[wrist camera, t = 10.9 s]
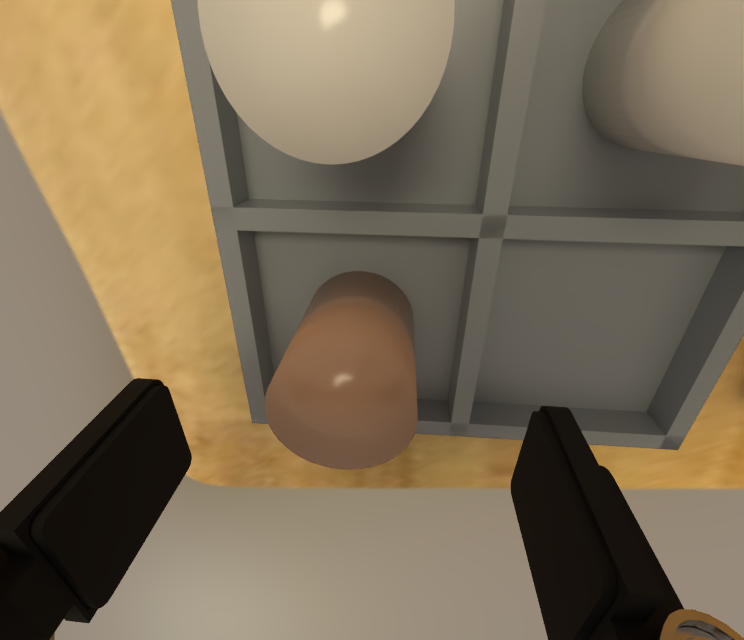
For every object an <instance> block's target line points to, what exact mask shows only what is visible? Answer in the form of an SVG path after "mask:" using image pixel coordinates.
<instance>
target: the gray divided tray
mask: <svg viewBox="0 0 744 640" xmlns="http://www.w3.org/2000/svg"><path fill="white" fill-rule="evenodd" d="M622 1H623V0H455V12H454V29H453V36H452V43H451V49H450V53H449V57H448V61H447V64H446V68H445V71H444V73H443V76H442V79H441V81H440V84H439V86H438V88H437V90H436V92H435V94H434V96H433V98H432V100H431V102H430V104H429V105H428V107H427V108H426V110H425V111H424V113H423V114H422V116H421V117H420V118H419V120H418V121H417V122H416V123H415V124H414V125H413V127H412V128H411V129H410V130H409V131H408V132H407V133H406V134H405V135H404V136H402V137H401V138H400V139H399V140H398V141H397V142H395V143H394V144H392V145H391V146H390V147H388V148H387V149H385V150H383V151H381V152H379V153H377V154H376V155H374V156H371V157H369V158H366V159H363V160H360V161H356V162H351V163H346V164H332V165H329V164H318V163H312V162H308V161H304V160H300V159H298V158H295V157H292V156H290V155H287V154H286V153H284V152H282V151H280V150H278V149H276V148H274V147H273V146H272V145H270V144H269V143H267V142H266V141H264V140H263V139H262V138H260V137H259V136H258V135H257V134H256V133H255V132H254V131H253V130H252V129H251V128H249V127H248V125H247V124H246V123H245V122H244V121H243V120H242V119H241V117H240V116H239V115H238V114H237V113H236V111H235V110H234V108H233V107H232V105H231V104H230V103H229V101H228V100H227V98H226V96H225V95H224V93H223V91H222V89H221V87H220V86H219V84H218V82H217V79H216V77H215V75H214V72H213V70H212V68H211V65H210V62H209V59H208V56H207V53H206V50H205V47H204V42H203V38H202V33H201V29H200V22H199V13H198V0H171V3H172V8H173V14H174V19H175V24H176V29H177V34H178V40H179V45H180V50H181V55H182V60H183V65H184V71H185V76H186V81H187V86H188V91H189V97H190V102H191V107H192V112H193V117H194V122H195V128H196V133H197V138H198V143H199V148H200V154H201V159H202V164H203V169H204V174H205V179H206V185H207V190H208V195H209V200H210V205H211V211H212V216H213V221H214V226H215V231H216V236H217V242H218V247H219V252H220V257H221V262H222V268H223V273H224V278H225V283H226V288H227V293H228V299H229V304H230V309H231V314H232V319H233V325H234V330H235V335H236V340H237V345H238V350H239V356H240V361H241V366H242V371H243V376H244V382H245V387H246V392H247V397H248V402H249V407H250V413H251V418H252V423H259V424H269V423H268V421H267V418H266V414H265V405H264V404H265V395H266V392H267V389H268V387H269V384H270V382H271V380H272V378H273V376H274V374H275V372H276V370H277V368H278V366H279V364H280V362H281V360H282V358H283V356H284V354H285V352H286V350H287V348H288V346H289V344H290V342H291V340H292V338H293V336H294V334H295V332H296V330H297V328H298V326H299V324H300V322H301V320H302V318H303V316H304V314H305V312H306V310H307V308H308V306H309V304H310V302H311V300H312V298H313V296H314V294H315V293H316V291H317V290H318V288H319V287H320V286H321V285H322V284H323V283H325V282H326V281H327V280H329V279H330V278H332V277H334V276H336V275H338V274H342V273H345V272H351V271H366V272H371V273H375V274H378V275H381V276H383V277H385V278H387V279H389V280H390V281H392V282H393V283H395V284H396V285H397V286H398V287H399V288H400V289H401V290H402V291H403V292H404V294H405V295H406V297H407V298H408V300H409V302H410V305H411V308H412V312H413V323H414V345H415V367H416V389H417V411H418V422H417V427H416V431H415V433H417V434H433V435H449V436H465V437H480V438H496V439H512V440H524V437H525V434H526V431H527V427H528V424H529V421H530V417H531V414H532V412H533V411H539V409H540V407H541V406H557V407H567V408H569V409H570V411H571V412H572V414H573V416H574V418H575V420H576V422H577V424H578V426H579V428H580V430H581V432H582V434H583V435H584V437H585V439H586V441H587V443H588V444H591V445H607V446H623V447H639V448H655V449H670V450H678V449H679V447H680V445H681V444H682V442H683V440H684V438H685V437H686V435H687V433H688V431H689V430H690V428H691V426H692V424H693V423H694V421H695V419H696V417H697V416H698V414H699V412H700V410H701V409H702V407H703V405H704V403H705V402H706V400H707V398H708V396H709V395H710V393H711V391H712V389H713V388H714V386H715V384H716V382H717V381H718V379H719V377H720V375H721V374H722V372H723V370H724V368H725V367H726V365H727V363H728V361H729V360H730V358H731V356H732V354H733V353H734V351H735V349H736V347H737V346H738V344H739V342H740V340H741V339H742V337H743V335H744V166H741V165H734V164H728V163H721V162H715V161H708V160H701V159H695V158H688V157H682V156H675V155H669V154H662V153H655V152H649V151H642V150H636V149H629V148H625V147H620V146H618V145H615V144H613V143H611V142H609V141H608V140H606V139H604V138H603V137H602V136H601V135H600V134H599V133H598V132H597V131H596V130H595V128H594V127H593V126H592V124H591V122H590V120H589V118H588V116H587V113H586V110H585V106H584V100H583V77H584V71H585V66H586V62H587V59H588V56H589V53H590V50H591V48H592V45H593V43H594V41H595V39H596V37H597V35H598V33H599V31H600V29H601V28H602V26H603V25H604V23H605V22H606V20H607V19H608V17H609V16H610V15H611V14H612V12H613V11H614V10H615V9H616V7H617V6H618V5H619V4H620V3H621V2H622Z"/></svg>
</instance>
